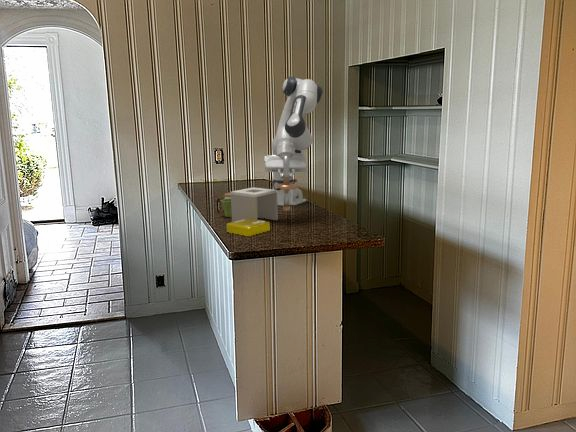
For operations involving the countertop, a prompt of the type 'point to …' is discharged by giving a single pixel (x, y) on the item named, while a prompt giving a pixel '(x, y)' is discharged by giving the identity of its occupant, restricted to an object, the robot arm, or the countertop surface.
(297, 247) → the countertop surface
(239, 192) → the slotted white pedestal
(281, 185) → the peg
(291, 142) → the robot arm
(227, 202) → the plant pot
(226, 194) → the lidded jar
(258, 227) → the element tile
